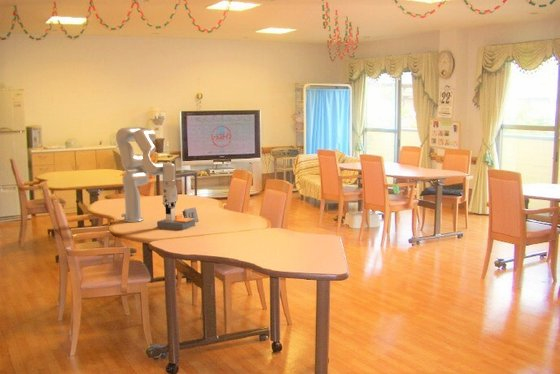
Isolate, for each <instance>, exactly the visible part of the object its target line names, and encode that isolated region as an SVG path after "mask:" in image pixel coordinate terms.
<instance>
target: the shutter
mask: <svg viewBox="0 0 560 374" xmlns="http://www.w3.org/2000/svg"><path fill="white" fill-rule="evenodd" d="M191 220H193V218H184V217H183V213H182V214H177V215H176V214H175V220H174V222H188V221H191Z"/></svg>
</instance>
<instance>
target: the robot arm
mask: <svg viewBox="0 0 560 374" xmlns="http://www.w3.org/2000/svg"><path fill="white" fill-rule="evenodd" d="M156 138H157V134H156V132H155V131H154V130H153V129H151V128H148V127H147V128H146V127H141V126H133V127H131V126H129V127H122V128H120V129H118V130H117V132H116V135H115V141H116V144H117V147H118V151H119V156H120V160H121V167H122V168H123V169H124V170H126V171H128V172H125V173H124V174H123V176H122V180H121V181H122V184H123V189H124V190H123V191H124V207H125V212H124V213H121V217H122V218H123V222H126V223H137V222H138V223H139V222H143V221H144V217H142V213H141V212H142V211H141V208H142V207H141V193H140V190H139V188H138V187H140V186H146V185H148V183H149V180H150V178H149V177H150V176H160V175H162V186H163V187H162V204H163V206H164V207H165V215H166V214H171V210H170V206H174V207H175V208H176V203H177V202H178V201H179V200H178V198H179V197H178V196H179V195H178V187H177V185H176V184H177V183H176V181H177V180H176V165H175V164H174V163H172V162H163V161H162V162H153V160H152V159H151V157H150V156H151V155H152V154H153V153H155V151H156V149H157V147H156V146H155V144H154V143H153V142H155V141H156ZM129 141H131V142H132V141H133V142H135V143H136V144H137V146H138V147H139V149H140V151H141V152H142V154H135V152H134V147H133V145H132V144H131V143H130V142H129ZM132 170H136V171H132Z"/></svg>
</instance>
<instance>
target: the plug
mask: <svg viewBox="0 0 560 374" xmlns="http://www.w3.org/2000/svg"><path fill="white" fill-rule="evenodd" d="M170 210H171V214H166V213H165V219H166V221H174V220H175V216H176V206H175V207H174V206H171V205H170Z"/></svg>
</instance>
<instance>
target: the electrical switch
mask: <svg viewBox="0 0 560 374" xmlns="http://www.w3.org/2000/svg"><path fill="white" fill-rule="evenodd" d="M182 217H183V218H193V219H195V223H197V222H199V217H198V212H197V208H196V207H190V208H184V210H182Z"/></svg>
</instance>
